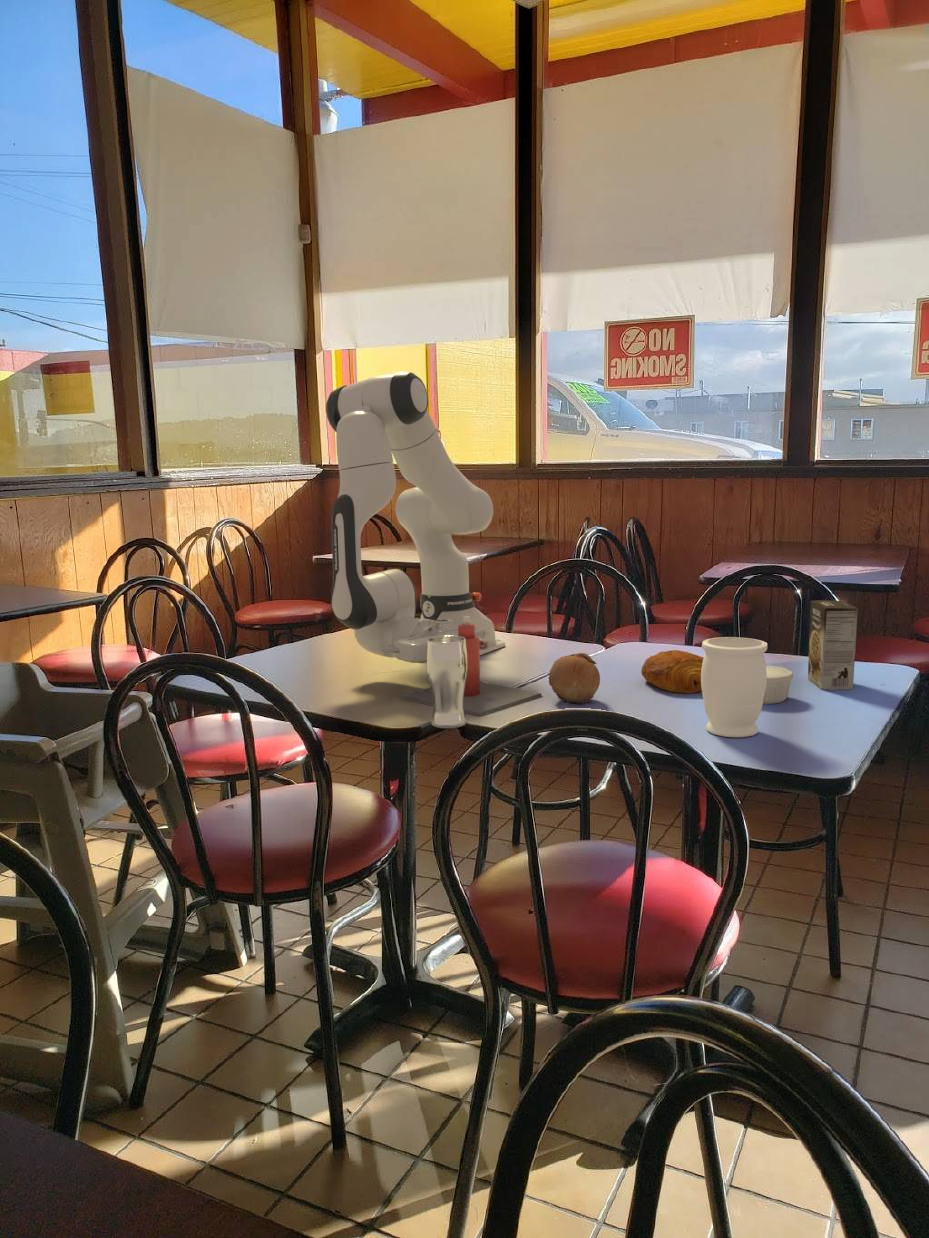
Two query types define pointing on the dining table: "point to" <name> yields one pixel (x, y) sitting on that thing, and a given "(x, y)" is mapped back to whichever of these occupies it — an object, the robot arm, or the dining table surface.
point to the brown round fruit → (574, 678)
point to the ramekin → (777, 684)
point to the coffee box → (832, 644)
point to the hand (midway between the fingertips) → (470, 649)
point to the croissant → (674, 671)
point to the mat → (482, 698)
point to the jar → (733, 684)
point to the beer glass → (447, 679)
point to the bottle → (471, 657)
